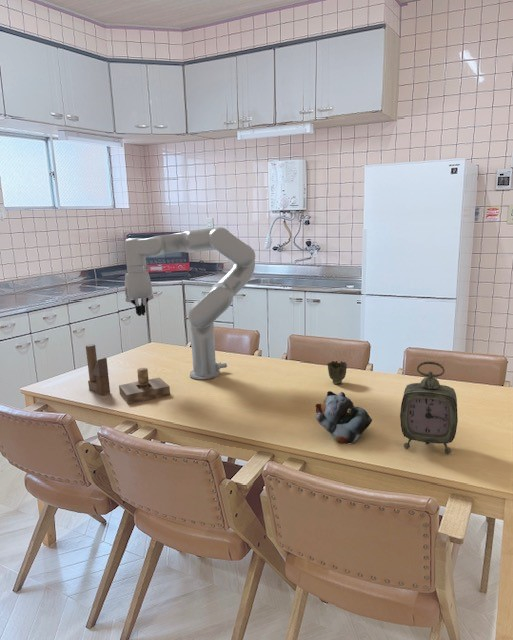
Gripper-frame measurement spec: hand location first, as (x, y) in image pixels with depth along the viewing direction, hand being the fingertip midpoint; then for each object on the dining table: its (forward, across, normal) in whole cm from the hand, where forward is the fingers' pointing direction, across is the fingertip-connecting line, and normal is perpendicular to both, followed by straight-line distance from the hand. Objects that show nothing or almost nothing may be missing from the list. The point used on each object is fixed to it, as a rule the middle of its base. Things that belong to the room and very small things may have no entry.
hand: (141, 314), depth 197 cm
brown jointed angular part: (+27, +20, +3) cm, 34 cm away
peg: (+27, +6, +18) cm, 33 cm away
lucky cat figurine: (+27, -34, +85) cm, 96 cm away
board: (+27, +6, +18) cm, 33 cm away
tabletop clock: (+27, -49, +104) cm, 118 cm away
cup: (+27, -60, +50) cm, 83 cm away
